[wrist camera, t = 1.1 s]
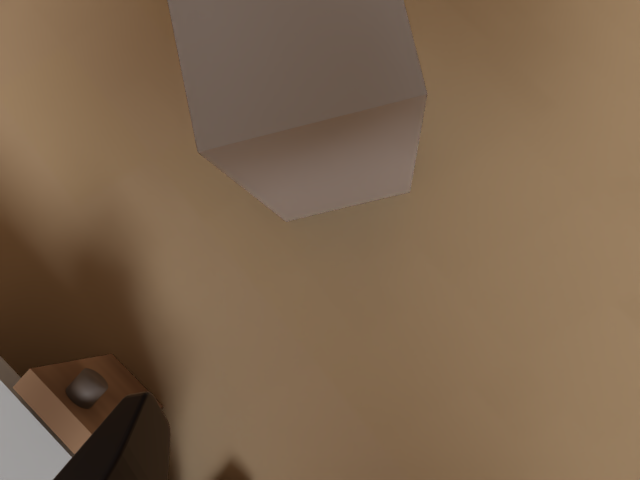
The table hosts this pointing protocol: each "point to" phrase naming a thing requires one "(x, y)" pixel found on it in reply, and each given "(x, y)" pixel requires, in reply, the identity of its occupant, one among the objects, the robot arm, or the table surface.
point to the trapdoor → (26, 436)
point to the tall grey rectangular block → (303, 97)
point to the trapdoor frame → (77, 395)
